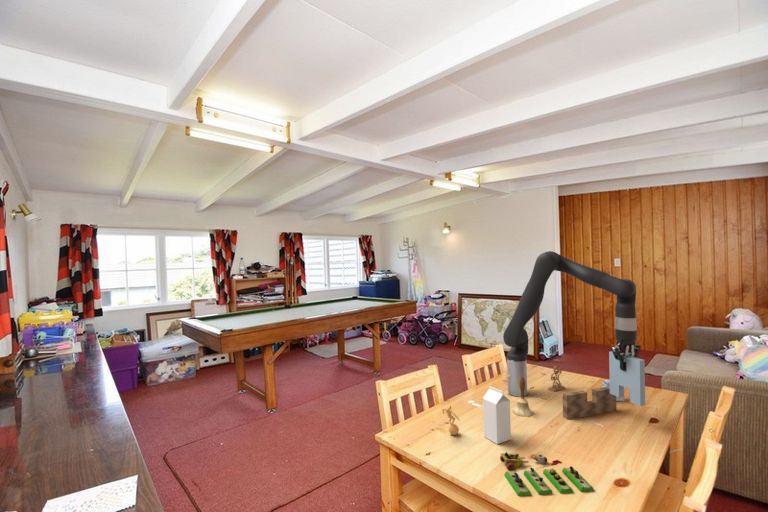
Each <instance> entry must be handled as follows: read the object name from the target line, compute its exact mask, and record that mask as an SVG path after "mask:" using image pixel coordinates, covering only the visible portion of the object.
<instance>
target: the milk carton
mask: <svg viewBox="0 0 768 512" xmlns="http://www.w3.org/2000/svg"><path fill="white" fill-rule="evenodd" d="M482 407H483V408H482V412H483V413H482V414H483V416H482V417H483V418H482V419H483V437H484V438H485V439H488V440H489V441H491V442H493V444H496V445H498V444H502V443H505V442H507V441H510V440H511V439H512V431H511V428H512V427H511V426H512V425H511V399H509V398H508V397H507V396H506V395H505V394H504V391H503V390H501V389H498V388H496V387H493V386H491V385H489V386H488V390H487V391H486V393H485V394H484V396H483V397H482Z"/></svg>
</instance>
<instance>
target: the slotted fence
mask: <svg viewBox="0 0 768 512" xmlns="http://www.w3.org/2000/svg"><path fill="white" fill-rule="evenodd" d="M611 412H612V413H613V412H617V401H616V396H615V395H612V394H610V387H598V388H591V400H588V392H587V391H584V390H578V391H572V392H570V391H569V392H565V393H562V417H563V418H564V419H566V420H571V419H577V418H578V419H579V418H583V417H588V416H589V417H590V416H595V415H599V414H601V415H602V414H606V413H611Z"/></svg>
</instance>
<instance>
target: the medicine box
mask: <svg viewBox="0 0 768 512" xmlns="http://www.w3.org/2000/svg"><path fill="white" fill-rule="evenodd" d="M601 381H602V382H601V383H602V387H601V388H603V387H610V379H605V380H604V379H603V380H601ZM616 402H625V396H624V397H617V396H616Z"/></svg>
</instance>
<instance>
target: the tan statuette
mask: <svg viewBox="0 0 768 512" xmlns="http://www.w3.org/2000/svg"><path fill="white" fill-rule="evenodd" d="M561 374H562V368H561V367H559V366H558V365H554V367H553V373H551V375H550V376H551V377H550V380H551V381H553V383H552V385H551V386H550V387H547V390H548V391H550V392H553V393H556V392H559V391H563V390H565V389H566V386H564V385H562V383H561V382H560V377H559V376H560V375H561Z"/></svg>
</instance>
